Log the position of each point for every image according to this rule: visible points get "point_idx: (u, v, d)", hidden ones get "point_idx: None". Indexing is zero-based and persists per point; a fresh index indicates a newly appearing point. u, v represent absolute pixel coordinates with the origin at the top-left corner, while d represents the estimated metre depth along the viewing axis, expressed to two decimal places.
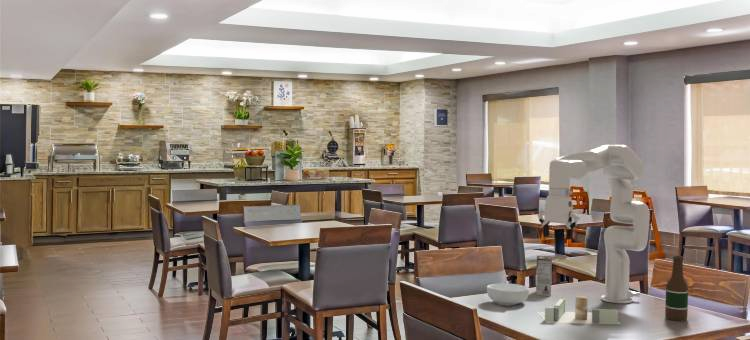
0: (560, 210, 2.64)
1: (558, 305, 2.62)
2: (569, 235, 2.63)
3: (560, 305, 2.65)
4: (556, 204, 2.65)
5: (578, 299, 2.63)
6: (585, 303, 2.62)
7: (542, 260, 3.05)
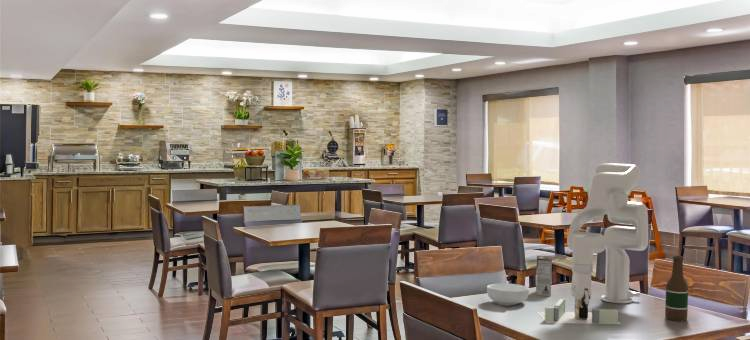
0: None
1: (558, 305, 2.62)
2: None
3: (560, 305, 2.65)
4: None
5: None
6: None
7: (542, 260, 3.05)
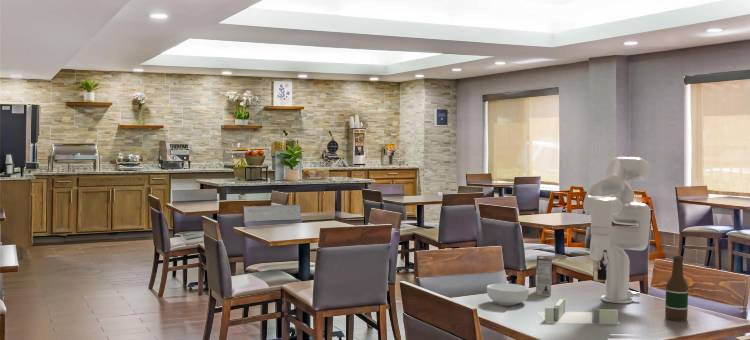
0: None
1: (558, 305, 2.62)
2: None
3: (560, 305, 2.65)
4: None
5: None
6: None
7: (542, 260, 3.05)
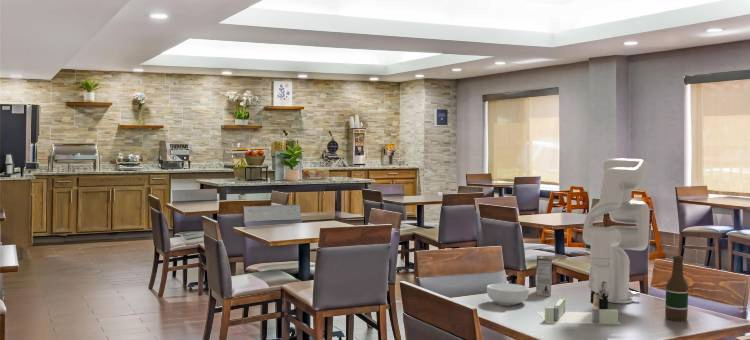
0: None
1: (558, 305, 2.62)
2: None
3: (560, 305, 2.65)
4: None
5: (596, 296, 2.68)
6: None
7: (542, 260, 3.05)
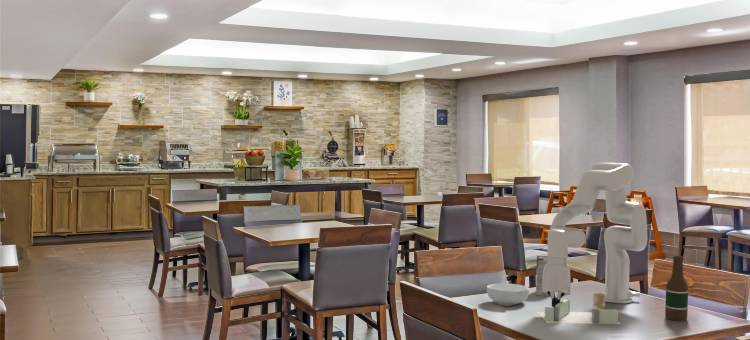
0: None
1: (559, 305, 2.62)
2: None
3: (561, 305, 2.64)
4: None
5: (596, 296, 2.68)
6: (603, 300, 2.68)
7: (542, 260, 3.05)
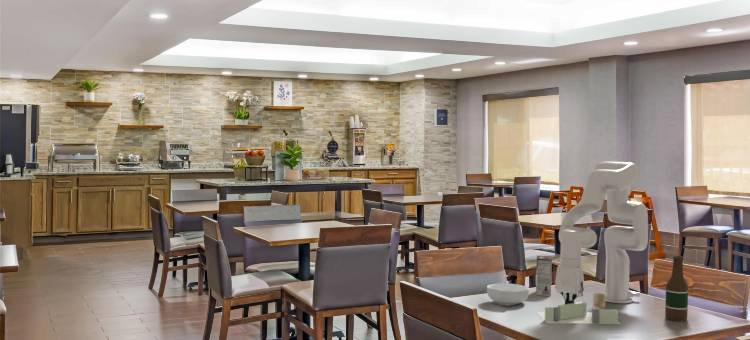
0: None
1: (561, 306, 2.61)
2: None
3: (566, 306, 2.63)
4: None
5: (596, 296, 2.68)
6: (603, 300, 2.68)
7: (542, 260, 3.05)
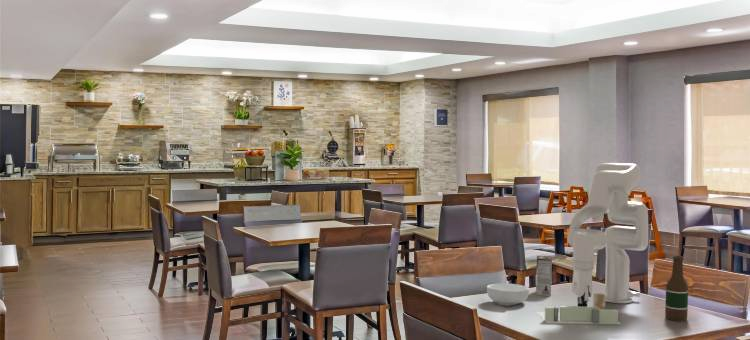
0: None
1: (561, 306, 2.60)
2: None
3: (569, 308, 2.60)
4: None
5: (596, 296, 2.68)
6: (603, 300, 2.68)
7: (542, 260, 3.05)
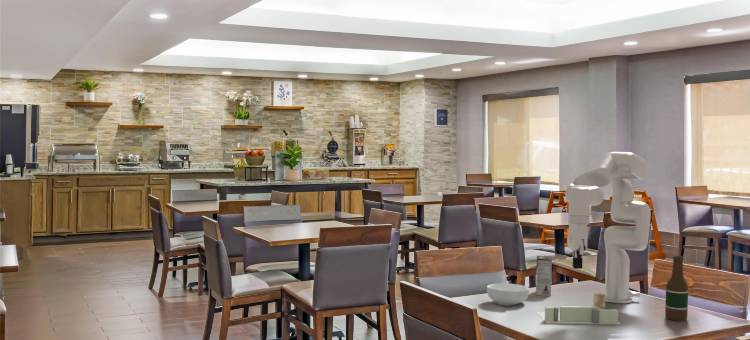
0: None
1: (561, 306, 2.60)
2: None
3: (569, 308, 2.60)
4: None
5: (596, 296, 2.68)
6: (603, 300, 2.68)
7: (542, 260, 3.05)
